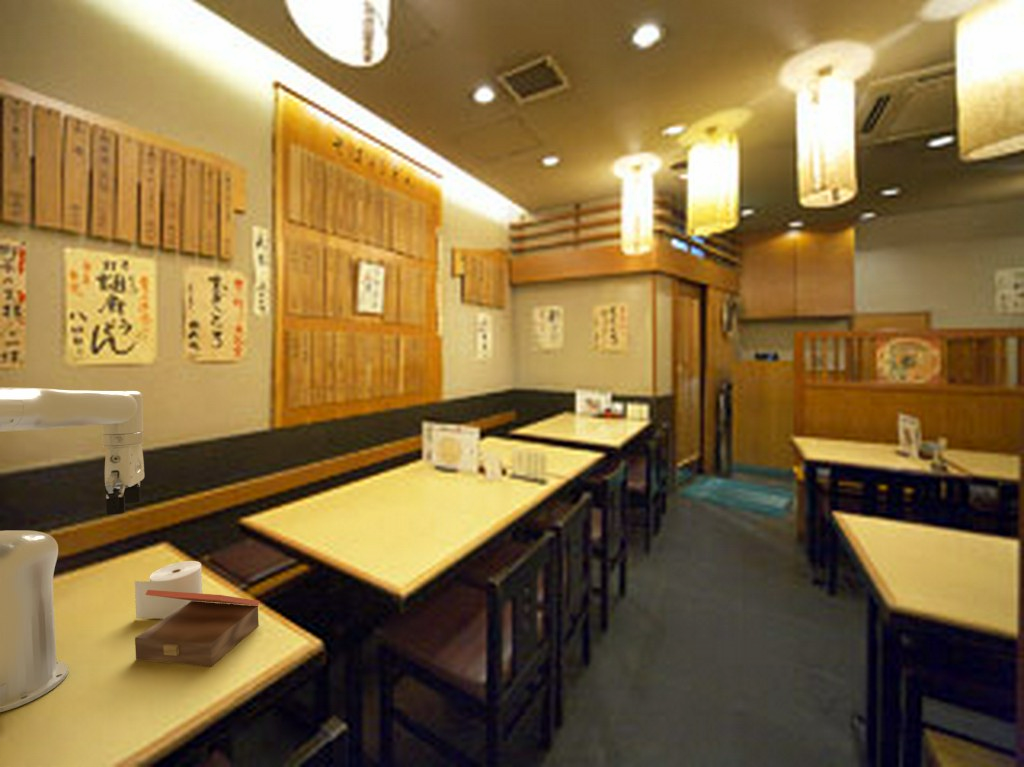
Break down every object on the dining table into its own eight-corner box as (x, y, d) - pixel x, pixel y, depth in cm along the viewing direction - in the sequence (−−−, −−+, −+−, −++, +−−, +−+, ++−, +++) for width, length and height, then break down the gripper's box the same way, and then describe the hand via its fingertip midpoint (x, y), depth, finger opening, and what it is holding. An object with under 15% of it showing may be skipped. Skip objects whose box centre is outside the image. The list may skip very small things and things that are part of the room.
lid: (219, 600, 90) (221, 595, 91) (145, 594, 92) (147, 589, 93) (258, 605, 102) (259, 601, 102) (191, 600, 104) (193, 596, 104)
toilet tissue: (212, 599, 114) (211, 563, 113) (165, 625, 102) (164, 586, 101) (182, 593, 116) (181, 558, 116) (134, 618, 105) (132, 580, 104)
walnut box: (208, 668, 88) (208, 645, 87) (133, 661, 90) (132, 639, 89) (258, 625, 102) (258, 605, 102) (192, 620, 104) (191, 600, 104)
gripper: (128, 444, 97) (130, 516, 98) (154, 434, 113) (155, 496, 113) (85, 446, 94) (87, 521, 95) (118, 436, 110) (119, 500, 110)
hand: (124, 507), depth 104 cm, fingers open, 9 cm apart
